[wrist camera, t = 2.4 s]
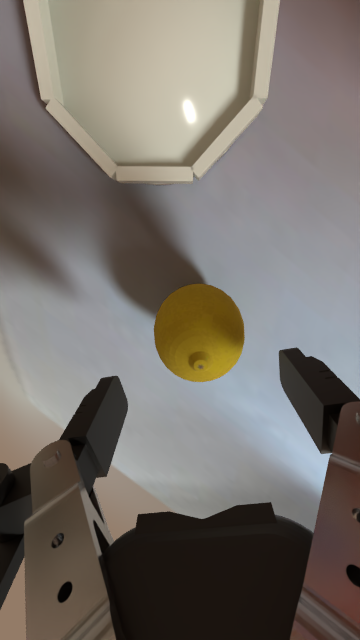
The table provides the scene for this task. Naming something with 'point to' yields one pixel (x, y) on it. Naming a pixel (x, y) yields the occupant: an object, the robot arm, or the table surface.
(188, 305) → the lemon
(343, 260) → the table surface
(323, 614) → the robot arm
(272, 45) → the dish
